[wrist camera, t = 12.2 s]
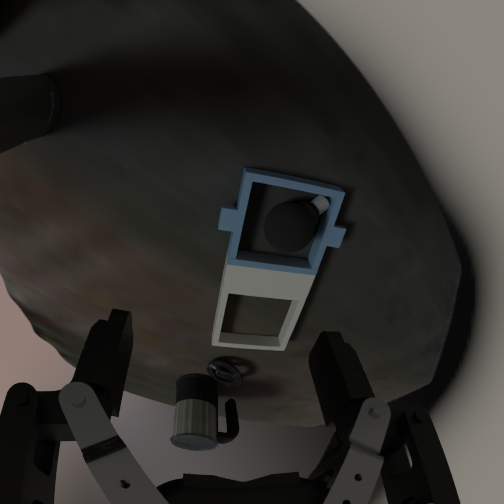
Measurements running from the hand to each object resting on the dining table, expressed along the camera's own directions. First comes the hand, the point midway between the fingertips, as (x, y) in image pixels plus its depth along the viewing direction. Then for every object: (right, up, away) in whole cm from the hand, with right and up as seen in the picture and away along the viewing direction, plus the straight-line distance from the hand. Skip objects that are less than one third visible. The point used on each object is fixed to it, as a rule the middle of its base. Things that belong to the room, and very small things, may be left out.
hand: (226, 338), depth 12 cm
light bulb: (+6, +9, +28) cm, 30 cm away
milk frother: (-8, -23, +46) cm, 52 cm away
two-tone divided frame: (+3, +1, +33) cm, 33 cm away
